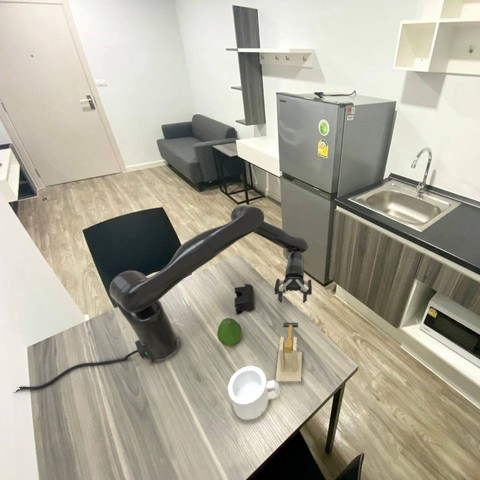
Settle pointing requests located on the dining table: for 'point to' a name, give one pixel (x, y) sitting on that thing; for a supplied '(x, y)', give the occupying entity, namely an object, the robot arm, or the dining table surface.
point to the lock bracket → (289, 363)
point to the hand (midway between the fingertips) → (292, 301)
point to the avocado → (229, 332)
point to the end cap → (244, 298)
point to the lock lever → (289, 337)
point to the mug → (251, 392)
